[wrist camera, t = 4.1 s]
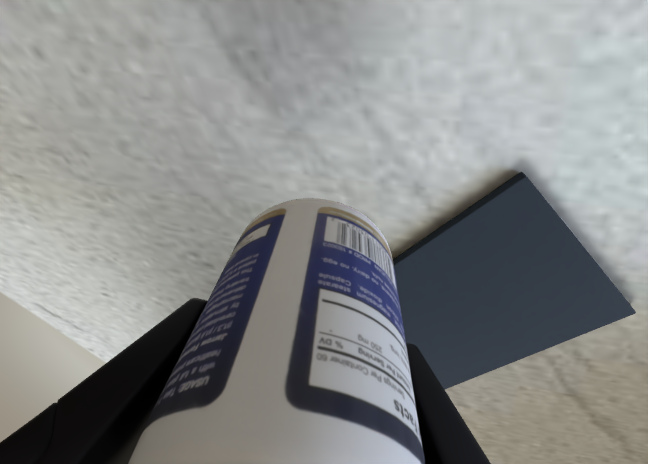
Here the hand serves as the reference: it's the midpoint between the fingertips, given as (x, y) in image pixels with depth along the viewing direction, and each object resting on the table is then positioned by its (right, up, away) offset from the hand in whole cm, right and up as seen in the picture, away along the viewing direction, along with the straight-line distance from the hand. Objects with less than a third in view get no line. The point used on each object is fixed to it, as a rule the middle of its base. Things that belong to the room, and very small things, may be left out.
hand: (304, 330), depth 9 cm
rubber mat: (+7, -4, +12) cm, 15 cm away
